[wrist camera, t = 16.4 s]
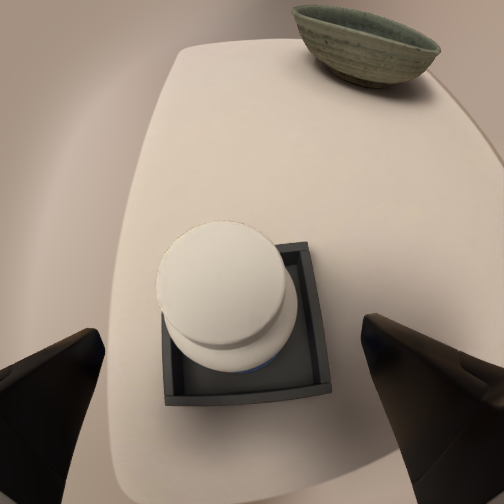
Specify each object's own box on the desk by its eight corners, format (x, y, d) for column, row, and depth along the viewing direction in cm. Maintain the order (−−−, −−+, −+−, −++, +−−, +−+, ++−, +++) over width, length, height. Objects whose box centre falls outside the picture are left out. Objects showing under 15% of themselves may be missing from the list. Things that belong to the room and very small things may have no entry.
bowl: (304, 105, 27) (310, 28, 18) (282, 47, 37) (282, -2, 28) (446, 123, 27) (470, 67, 18) (390, 58, 36) (399, 16, 27)
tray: (323, 390, 15) (332, 392, 13) (178, 402, 15) (164, 405, 13) (302, 258, 19) (307, 240, 17) (174, 272, 19) (162, 257, 17)
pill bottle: (201, 375, 16) (126, 367, 7) (199, 294, 18) (139, 211, 9) (290, 370, 15) (319, 361, 7) (281, 288, 18) (294, 195, 9)
